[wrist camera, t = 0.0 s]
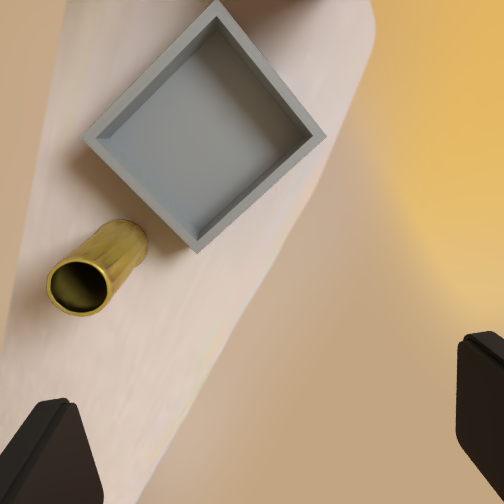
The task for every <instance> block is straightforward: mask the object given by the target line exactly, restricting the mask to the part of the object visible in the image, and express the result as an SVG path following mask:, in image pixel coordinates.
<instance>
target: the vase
mask: <svg viewBox="0 0 504 504" xmlns="http://www.w3.org/2000/svg"><path fill="white" fill-rule="evenodd" d="M147 250H148V242H147V238H146V236H145V234H144V232H143V231H142V230H141V229H140V228H139V227H138V226H137V225H135V224H134V223H132V222H130V221H126V220H112V221H110V222H108V223H106V224H104V225H103V226H102V227H101V228H100V229H99V230H98V232H97V233H96V234H95V235H93V236H92V237H91V238H89V239H88V240H87V241H86V242H84V243H83V244H82V245H81V246H80V247H79V248H78V249H76V250H75V251H73V252H72V253H71V254H69V255H68V256H67V257H65V258H64V259H63V260H62V261H60V262H59V263H58V264H57V265H56V266H55V267H54V268H53V269H52V271H51V272H50V273H49V275H48V278H47V287H46V288H47V293H48V296H49V298H50V300H51V301H52V303H53V304H54V305H55V306H56V307H57V308H59V309H60V310H62V311H63V312H65V313H67V314H69V315H74V316H82V317H83V316H90V315H93V314H95V313H97V312H99V311H101V310H102V309H103V308H104V307H105V306H106V305H107V304H108V302H109V301H110V300H111V298H112V297H113V295H114V294H115V293H116V291H117V290H118V289H119V288H120V287H121V285H122V284H123V283H124V281H125V280H126V279H127V278H128V276H129V275H130V273H131V272H132V270H133V268H134V267H136V266H138V265H139V264H140V263H141V262H142V261H143V260H144V258H145V257H146V254H147Z"/></svg>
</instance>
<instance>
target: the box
mask: <svg viewBox="0 0 504 504" xmlns="http://www.w3.org/2000/svg"><path fill="white" fill-rule="evenodd" d="M326 137H327V136H326V135H325V133H324V132H323V131H322V130H321V128H320V127H319V126H318V124H317V123H316V122H315V121H314V119H313V118H312V117H311V116H310V114H309V113H308V112H307V111H306V109H305V108H304V107H303V106H302V104H301V103H300V102H299V100H298V99H297V98H296V97H295V95H294V94H293V93H292V92H291V90H290V89H289V88H288V87H287V85H286V84H285V83H284V82H283V80H282V79H281V78H280V77H279V75H278V74H277V73H276V71H275V70H274V69H273V68H272V66H271V65H270V64H269V63H268V61H267V60H266V59H265V58H264V56H263V55H262V54H261V53H260V51H259V50H258V49H257V48H256V46H255V45H254V44H253V42H252V41H251V40H250V39H249V37H248V36H247V35H246V34H245V32H244V31H243V30H242V29H241V27H240V26H239V25H238V24H237V22H236V21H235V20H234V19H233V17H232V16H231V15H230V13H229V12H228V11H227V10H226V8H225V7H224V6H223V5H222V3H221V2H220V1H219V0H214V1H213V2H212V3H211V4H210V6H209V7H208V8H207V9H206V10H205V11H204V12H203V13H202V14H201V15H200V16H199V17H198V18H197V19H196V20H195V21H194V22H193V23H192V24H191V25H190V26H189V27H188V28H187V29H186V30H185V31H184V32H183V33H182V34H181V35H180V36H179V37H178V38H177V39H176V40H175V41H174V42H173V43H172V44H171V45H170V46H169V47H168V48H167V49H166V50H165V51H164V52H163V53H162V54H161V55H160V56H159V58H158V59H157V60H156V61H155V62H154V63H153V64H152V65H151V66H150V67H149V68H148V69H147V70H146V71H145V72H144V73H143V74H142V75H141V76H140V77H139V78H138V79H137V80H136V81H135V82H134V83H133V84H132V85H131V86H130V87H129V88H128V89H127V90H126V91H125V92H124V93H123V94H122V95H121V96H120V97H119V98H118V99H117V100H116V101H115V102H114V103H113V104H112V105H111V106H110V107H109V109H108V110H107V111H106V112H105V113H104V114H103V115H102V116H101V117H100V118H99V119H98V120H97V121H96V122H95V123H94V124H93V125H92V126H91V127H90V128H89V129H88V130H87V131H86V132H85V133H84V134H83V135H82V136H81V137H80V138H81V139H82V140H83V141H84V142H85V143H86V144H87V145H88V146H89V147H90V148H91V149H92V150H93V151H94V152H95V153H96V154H97V155H98V156H99V157H100V158H101V159H102V160H103V161H104V162H105V163H106V164H107V165H108V166H109V167H110V168H111V169H112V170H113V171H114V172H115V173H116V174H117V175H118V176H119V177H120V178H121V179H122V180H123V181H124V182H125V183H126V184H127V185H128V186H129V187H130V188H131V189H132V190H133V191H134V192H135V193H136V194H137V195H138V196H139V197H140V198H141V199H142V200H143V201H144V202H145V203H146V204H147V205H148V206H149V207H150V208H151V209H152V210H153V211H154V212H155V213H156V214H157V215H158V216H159V217H160V218H161V219H162V220H163V221H164V222H165V223H166V224H167V225H168V226H169V227H170V228H171V229H172V230H173V231H174V232H175V233H176V234H177V235H178V236H179V237H180V238H181V239H182V240H183V241H184V242H185V243H186V244H187V245H188V246H189V247H190V248H191V249H192V250H193V251H194V252H195V253H196V254H198V253H199V252H200V251H201V250H202V249H203V248H205V247H206V246H207V245H208V244H209V243H210V242H211V241H212V240H213V239H214V238H216V237H217V236H218V235H219V234H220V233H221V232H222V231H223V230H224V229H226V228H227V227H228V226H229V225H230V224H231V223H232V222H233V221H234V220H235V219H237V218H238V217H239V216H240V215H241V214H242V213H243V212H244V211H245V210H247V209H248V208H249V207H250V206H251V205H252V204H253V203H254V202H255V201H256V200H258V199H259V198H260V197H261V196H262V195H263V194H264V193H265V192H266V191H267V190H269V189H270V188H271V187H272V186H273V185H274V184H275V183H276V182H277V181H279V180H280V179H281V178H282V177H283V176H284V175H285V174H286V173H287V172H288V171H290V170H291V169H292V168H293V167H294V166H295V165H296V164H297V163H298V162H299V161H301V160H302V159H303V158H304V157H305V156H306V155H307V154H308V153H309V152H311V151H312V150H313V149H314V148H315V147H316V146H317V145H318V144H319V143H320V142H322V141H323V140H324V139H325V138H326Z"/></svg>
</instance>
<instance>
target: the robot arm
mask: <svg viewBox="0 0 504 504" xmlns="http://www.w3.org/2000/svg"><path fill="white" fill-rule="evenodd" d="M457 351H458V352H457V355H458V356H457V393H456V396H457V397H456V436H457V439H458V442H459V444H460V446H461V447H462V449H463V450H464V451H465V453H466V454H467V455H468V456H469V458H470V459H471V460H472V462H473V463H474V464H475V465H476V467H477V468H478V469H479V471H480V472H481V473H482V474H483V476H484V477H485V478H486V479H487V481H488V482H489V483H490V485H491V486H492V487H493V489H494V490H495V491H496V492H497V494H498V495H499V496H500V498H501V499H502V500H503V501H504V339H503V338H502V337H500V336H499V335H497V334H496V333H494V332H492V331H486V332H480V333H473V334H467V335H466V336H465V337H464V339H463V341H461V342H459V344H458V350H457ZM103 501H104V493H103V488H102V484H101V481H100V478H99V475H98V472H97V468H96V465H95V462H94V459H93V456H92V452H91V449H90V446H89V443H88V440H87V436H86V433H85V430H84V427H83V423H82V420H81V417H80V414H79V411H78V408H77V405H76V404H75V403H70V402H69V401H68V399H66V398H60V399H53V400H47V401H41V402H39V403H38V404H37V405H36V406H35V407H34V408H33V410H32V411H31V413H30V414H29V416H28V417H27V418H26V420H25V421H24V423H23V424H22V425H21V427H20V428H19V430H18V431H17V432H16V434H15V435H14V437H13V438H12V439H11V441H10V442H9V444H8V445H7V446H6V448H5V449H4V451H3V452H2V453H1V455H0V504H103Z"/></svg>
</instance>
